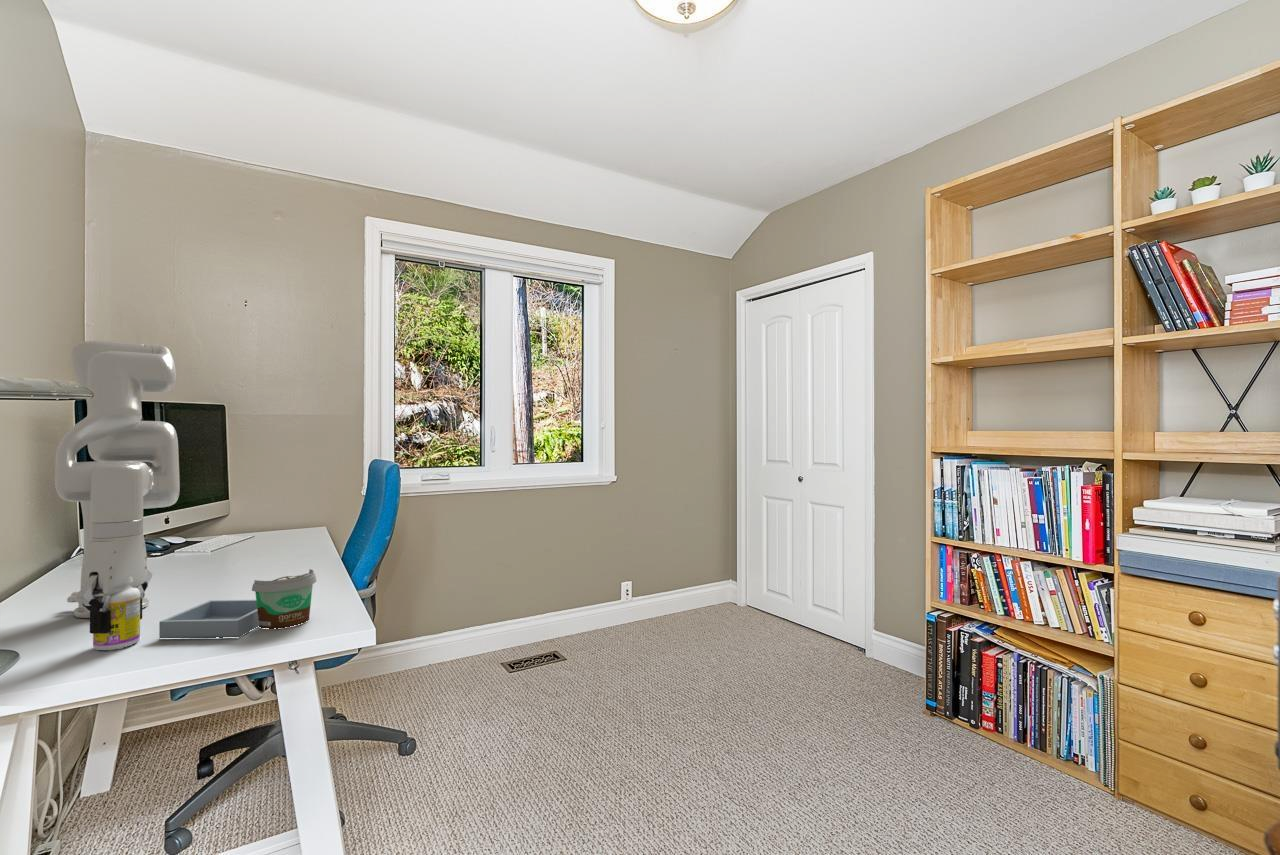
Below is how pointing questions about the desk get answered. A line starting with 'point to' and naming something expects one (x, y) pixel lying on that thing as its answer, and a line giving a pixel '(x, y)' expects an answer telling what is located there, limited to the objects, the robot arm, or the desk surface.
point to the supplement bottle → (121, 620)
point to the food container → (284, 600)
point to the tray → (212, 620)
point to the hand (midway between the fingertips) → (116, 625)
